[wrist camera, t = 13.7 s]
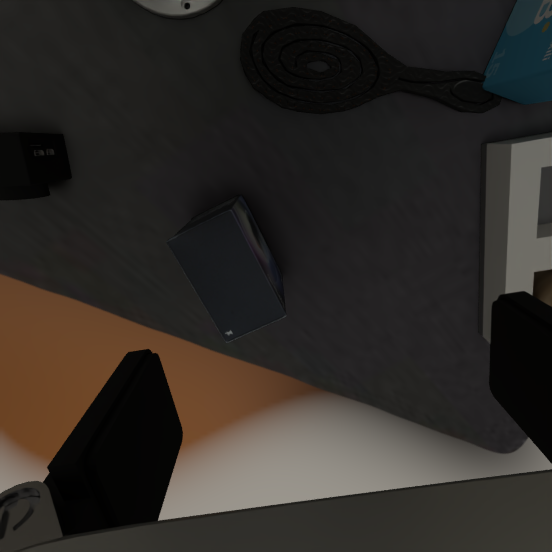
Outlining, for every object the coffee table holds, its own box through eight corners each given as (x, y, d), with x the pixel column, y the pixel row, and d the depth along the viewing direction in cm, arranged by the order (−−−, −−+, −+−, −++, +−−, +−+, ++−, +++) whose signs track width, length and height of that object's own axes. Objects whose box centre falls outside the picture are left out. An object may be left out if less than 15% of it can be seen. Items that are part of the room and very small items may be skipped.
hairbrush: (499, 144, 35) (234, 96, 32) (477, 144, 38) (236, 100, 36) (533, 44, 32) (246, -18, 29) (506, 54, 36) (247, -1, 33)
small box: (287, 276, 42) (291, 318, 32) (236, 300, 43) (224, 347, 33) (243, 191, 38) (233, 207, 29) (189, 218, 39) (161, 243, 30)
